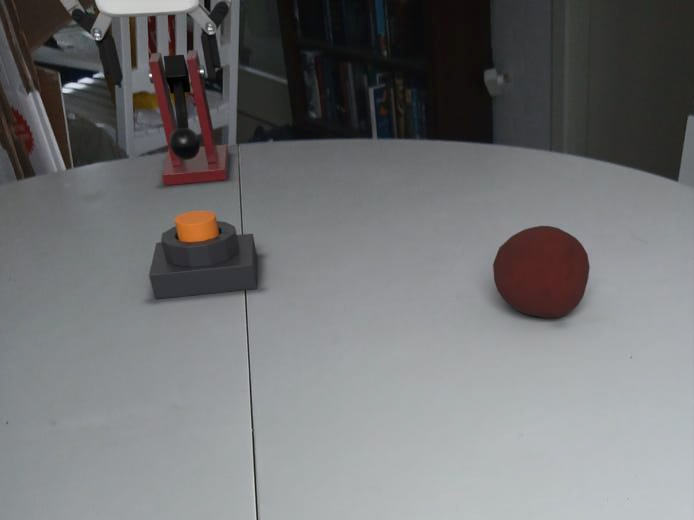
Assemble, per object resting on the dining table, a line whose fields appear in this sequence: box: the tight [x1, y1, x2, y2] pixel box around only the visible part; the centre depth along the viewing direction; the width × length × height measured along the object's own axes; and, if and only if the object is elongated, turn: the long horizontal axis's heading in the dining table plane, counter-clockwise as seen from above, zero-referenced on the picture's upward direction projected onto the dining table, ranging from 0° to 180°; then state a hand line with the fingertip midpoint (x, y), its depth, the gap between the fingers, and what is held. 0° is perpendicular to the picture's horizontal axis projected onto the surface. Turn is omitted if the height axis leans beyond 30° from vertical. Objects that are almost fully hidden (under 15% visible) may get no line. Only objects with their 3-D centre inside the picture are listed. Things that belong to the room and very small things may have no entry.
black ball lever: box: [163, 54, 201, 160], centre depth 108 cm, size 12×3×3 cm
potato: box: [492, 225, 591, 319], centre depth 81 cm, size 7×8×7 cm
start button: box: [174, 210, 219, 242], centre depth 88 cm, size 4×4×2 cm
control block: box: [148, 220, 258, 300], centre depth 90 cm, size 9×8×4 cm
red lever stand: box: [147, 49, 230, 186], centre depth 112 cm, size 10×7×12 cm
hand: (165, 79), depth 103 cm, fingers open, 9 cm apart
